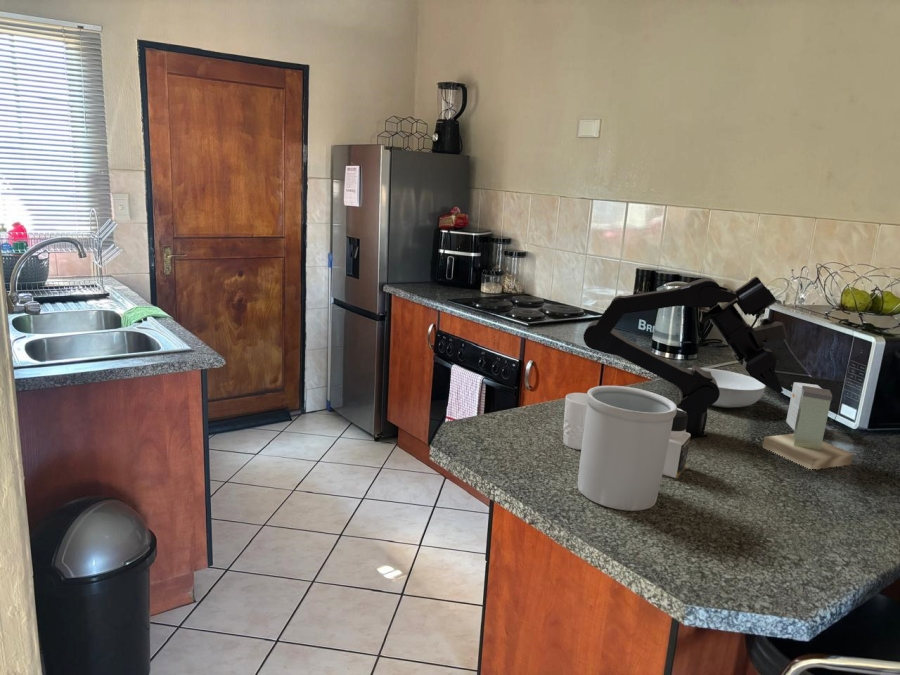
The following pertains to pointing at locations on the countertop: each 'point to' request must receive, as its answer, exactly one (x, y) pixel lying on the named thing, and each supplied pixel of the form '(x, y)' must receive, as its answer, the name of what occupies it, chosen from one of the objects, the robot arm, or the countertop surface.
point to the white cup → (574, 419)
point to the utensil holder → (624, 446)
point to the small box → (796, 402)
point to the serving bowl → (736, 388)
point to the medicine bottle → (677, 446)
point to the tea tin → (812, 417)
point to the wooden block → (807, 453)
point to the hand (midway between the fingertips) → (776, 387)
